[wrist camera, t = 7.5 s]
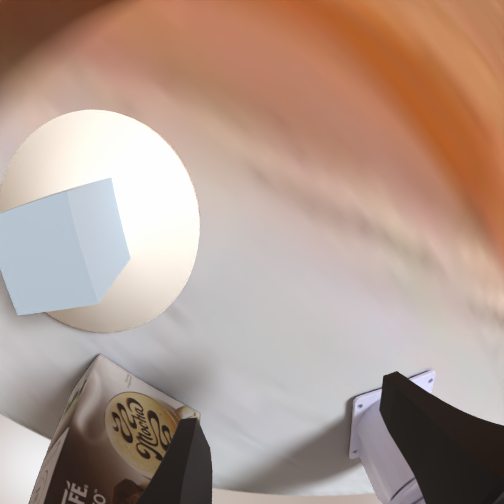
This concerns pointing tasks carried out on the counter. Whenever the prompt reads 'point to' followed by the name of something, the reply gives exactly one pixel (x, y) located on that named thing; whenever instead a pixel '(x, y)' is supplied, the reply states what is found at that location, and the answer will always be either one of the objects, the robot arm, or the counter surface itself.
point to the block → (63, 248)
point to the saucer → (129, 205)
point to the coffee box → (108, 439)
